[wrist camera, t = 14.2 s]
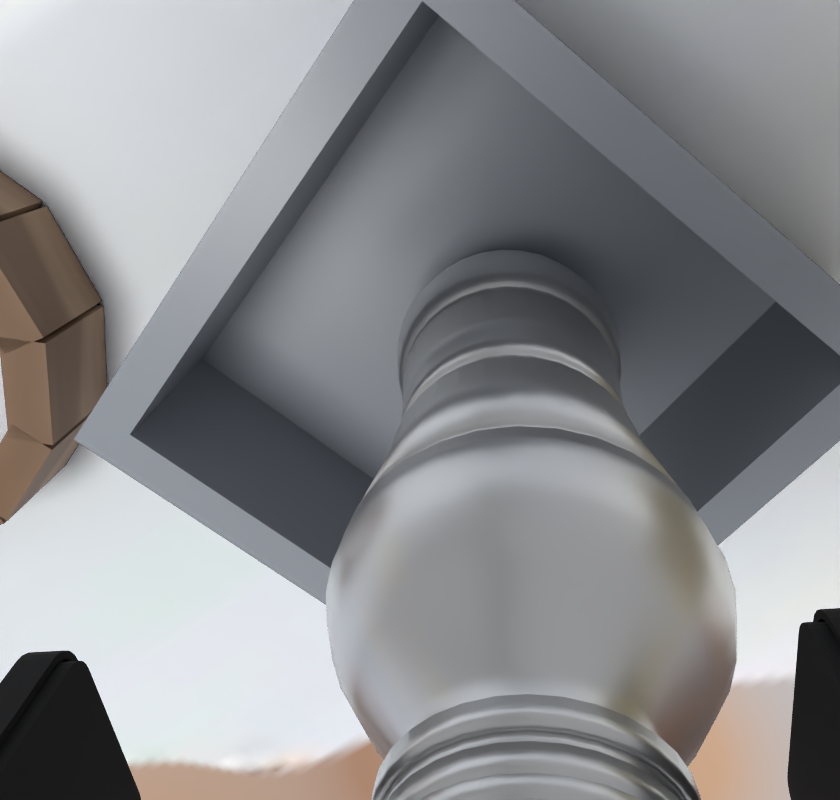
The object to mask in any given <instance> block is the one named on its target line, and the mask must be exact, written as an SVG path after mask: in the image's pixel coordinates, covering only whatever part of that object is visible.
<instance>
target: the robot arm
mask: <svg viewBox="0 0 840 800" xmlns="http://www.w3.org/2000/svg"><path fill="white" fill-rule="evenodd" d="M788 787H789V793H790V797H791V800H840V608H837V609H820V610H817V611H816V613H815V615H814V620H813V622H806V623H802V624H801V625H800V629H799V638H798V650H797V663H796V675H795V688H794V701H793V714H792V726H791V738H790V751H789V764H788ZM0 800H141V798H140V794H139V791H138V789H137V786H136V783H135V781H134V779H133V776H132V774H131V771H130V769H129V766H128V764H127V761H126V759H125V757H124V754H123V752H122V749H121V747H120V744H119V742H118V739H117V737H116V735H115V732H114V730H113V727H112V725H111V722H110V720H109V717H108V715H107V712H106V710H105V708H104V705H103V703H102V700H101V698H100V695H99V693H98V690H97V688H96V686H95V683H94V681H93V678H92V676H91V673H90V671H89V668H88V667H87V665H86V664H85V663H84V662H83V661H78V660H77V658H76V656H75V655H74V654H73V653H72V652H70V651H51V652H32V653H27V654H25V655H22V656H21V657H20V658H19V659H18V660H17V662H16V663H15V664H14V666H13V667H12V668H11V670H10V671H9V672H8V674H7V675H6V676H5V678H4V679H3V680H2V682H1V683H0Z"/></svg>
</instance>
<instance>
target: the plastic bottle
mask: <svg viewBox="0 0 840 800" xmlns="http://www.w3.org/2000/svg"><path fill="white" fill-rule="evenodd" d="M397 365H398V379H399V383H400V388H401V392H402V397H403V408H402V418H401V421H400V425H399V428H398V430H397V432H396V435H395V438H394V441H393V444H392V447H391V449H390V452H389V454H388V456H387V458H386V459H385V461H384V463H383V464H382V466H381V468H380V470H379V471H378V473H377V475H376V476H375V478H374V480H373V481H372V483H371V485H370V487H369V488H368V490H367V492H366V493H365V495H364V497H363V499H362V501H361V502H360V503H359V505H358V506H357V508H356V510H355V512H354V514H353V516H352V518H351V520H350V522H349V525H348V527H347V529H346V531H345V533H344V535H343V538H342V540H341V543H340V545H339V548H338V550H337V552H336V555H335V557H334V559H333V561H332V565H331V570H330V574H329V579H328V584H327V589H326V611H327V626H328V633H329V640H330V646H331V653H332V660H333V664H334V667H335V670H336V674H337V677H338V680H339V684H340V687H341V690H342V691H343V693H344V695H345V697H346V698H347V700H348V702H349V704H350V706H351V707H352V709H353V711H354V713H355V714H356V716H357V718H358V720H359V721H360V723H361V725H362V727H363V729H364V730H365V732H366V734H367V736H368V737H369V739H370V741H371V743H372V744H373V746H374V748H375V750H376V751H377V753H378V754H379V755H380V757H381V758H382V759H383V760H384V761H383V763H382V764H381V766H380V767H379V771H378V775H377V778H376V782H375V785H374V789H373V795H372V800H701V798H700V794H699V792H698V789H697V786H696V784H695V781H694V779H693V776H692V773H691V772H690V770H689V769H688V766H689V764H690V763H691V762H692V760H693V759H694V758H695V757H696V755H697V753H698V751H699V749H700V747H701V745H702V743H703V742H704V740H705V738H706V736H707V734H708V733H709V731H710V729H711V726H712V725H713V723H714V721H715V720H716V717H717V715H718V714H719V712H720V710H721V707H722V706H723V703H724V702H725V700H726V698H727V695H728V694H729V692H730V688H731V683H732V679H733V674H734V670H735V665H736V648H737V617H736V595H735V587H734V584H733V581H732V578H731V575H730V571H729V568H728V565H727V562H726V559H725V557H724V555H723V553H722V552H721V550H720V548H719V547H718V545H717V544H716V542H715V540H714V539H713V537H712V535H711V534H710V532H709V530H708V529H707V527H706V525H705V524H704V522H703V520H702V519H701V517H700V516H699V514H698V512H697V511H696V509H695V508H694V506H693V504H692V503H691V501H690V499H689V498H688V497H687V496H686V495H685V494H684V493H683V492H682V490H681V489H680V488H679V486H678V485H677V484H676V483H675V481H674V480H673V479H672V478H671V476H670V475H669V474H668V473H667V471H666V470H665V469H664V468H663V466H662V465H661V464H660V463H659V461H658V460H657V459H656V458H655V456H654V455H653V454H652V453H651V451H650V450H649V449H648V448H647V446H646V445H645V444H644V443H643V441H642V440H641V438H640V436H639V434H638V432H637V430H636V428H635V427H634V425H633V423H632V421H631V420H630V418H629V416H628V413H627V412H626V410H625V408H624V405H623V400H622V395H621V389H620V379H621V371H622V369H621V356H620V346H619V336H618V331H617V328H616V325H615V322H614V319H613V316H612V314H611V312H610V311H609V309H608V307H607V306H606V304H605V302H604V301H603V299H602V297H601V296H600V295H599V294H598V293H597V292H596V291H595V289H594V288H593V287H592V286H591V285H590V284H589V283H588V282H587V281H586V280H585V279H583V278H582V277H580V276H579V275H577V274H576V273H575V272H573V271H572V270H570V269H569V268H567V267H566V266H564V265H562V264H561V263H559V262H557V261H554V260H552V259H550V258H548V257H545V256H543V255H540V254H536V253H531V252H527V251H523V250H495V251H488V252H481V253H479V254H476V255H473V256H470V257H467V258H464V259H462V260H460V261H458V262H457V263H455V264H453V265H451V266H450V267H448V268H446V269H445V270H444V271H442V272H441V273H440V274H439V275H438V276H437V277H435V278H434V279H433V280H432V281H431V282H430V283H429V284H427V285H426V286H425V287H424V288H423V289H422V290H421V292H420V293H419V294H418V296H417V297H416V298H415V300H414V301H413V302H412V304H411V305H410V307H409V309H408V311H407V313H406V315H405V318H404V320H403V322H402V324H401V329H400V333H399V338H398V343H397Z"/></svg>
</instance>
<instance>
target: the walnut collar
mask: <svg viewBox="0 0 840 800" xmlns="http://www.w3.org/2000/svg"><path fill="white" fill-rule="evenodd" d="M41 203H42V201H41V200H40V199H38V198H37V197H36V196H34V195H33V194H31V193H30V192H29V191H27V190H26V189H24V188H23V187H22V186H20V185H19V184H17V183H16V182H15V181H13V180H12V179H10V178H9V177H8V176H6V175H5V174H3V173H2V172H1V171H0V357H1V367H2V377H3V387H4V396H5V406H6V416H7V426H8V431H7V433H6V435H5V436H4V438H3V440H2V441H1V443H0V525H1V524H4V523H5V522H6V521H8V520H9V519H10V518H11V517H12V516H13V515H14V514H15V513H16V512H17V511H18V510H19V509H20V508H21V507H22V506H23V505H25V504H26V503H27V502H28V501H29V500H30V499H31V498H32V497H33V496H34V495H35V494H36V493H37V492H38V491H39V490H40V489H41V488H42V487H43V486H44V485H45V484H46V483H48V482H49V481H50V480H51V479H52V478H53V477H54V476H55V475H56V474H57V473H58V472H59V471H60V470H61V469H62V468H63V467H64V466H65V465H66V463H67V462H68V460H69V459H70V457H71V456H72V454H73V452H74V451H75V449H76V448H77V446H78V445H79V443H78V442H77V441H75V440H74V438H75V437H76V435H77V434H78V432H79V431H80V429H81V427H82V426H83V424H84V423H85V421H86V420H87V418H88V416H89V415H90V413H91V412H92V410H93V409H94V407H95V405H96V404H97V402H98V401H99V399H100V398H101V396H102V395H103V393H104V391H105V390H106V388H107V376H106V353H105V329H104V306H99V305H96V304H98V303H99V302H101V301H102V300H101V298H100V297H99V295H98V293H97V292H96V290H95V288H94V286H93V285H92V283H91V281H90V280H89V278H88V276H87V274H86V273H85V271H84V269H83V268H82V266H81V264H80V262H79V261H78V259H77V257H76V255H75V254H74V252H73V250H72V249H71V247H70V245H69V243H68V242H67V240H66V238H65V237H64V235H63V233H62V231H61V230H60V228H59V226H58V225H57V223H56V221H55V219H54V218H53V216H52V214H51V213H50V211H49V209H48V207H47V206H46V207H43V208H40V209H39V207H40V205H41Z"/></svg>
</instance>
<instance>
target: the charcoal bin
mask: <svg viewBox="0 0 840 800" xmlns="http://www.w3.org/2000/svg"><path fill="white" fill-rule="evenodd" d="M495 250H523V251H527V252H531V253H536V254H540V255H543V256H545V257H548V258H550V259H552V260H554V261H557V262H559V263H561V264H562V265H564V266H566V267H567V268H569V269H570V270H572V271H573V272H575V273H576V274H577V275H579V276H580V277H582V278H583V279H585V280H586V281H587V282H588V283H589V284H590V285H591V286H592V287H593V288H594V289H595V291H596V292H597V293H598V294H599V295H600V296H601V297H602V299H603V301H604V302H605V304H606V306H607V307H608V309H609V311H610V312H611V314H612V316H613V319H614V322H615V325H616V328H617V331H618V336H619V346H620V356H621V369H622V371H621V379H620V389H621V395H622V400H623V405H624V408H625V410H626V412H627V413H628V416H629V418H630V420H631V421H632V423H633V425H634V427H635V428H636V430H637V432H638V434H639V436H640V438H641V440H642V441H643V443H644V444H645V445H646V446H647V448H648V449H649V450H650V451H651V453H652V454H653V455H654V456H655V458H656V459H657V460H658V461H659V463H660V464H661V465H662V466H663V468H664V469H665V470H666V471H667V473H668V474H669V475H670V476H671V478H672V479H673V480H674V481H675V483H676V484H677V485H678V486H679V488H680V489H681V490H682V492H683V493H684V494H685V495H686V496H687V497H688V498H689V499H690V501H691V503H692V504H693V506H694V508H695V509H696V511H697V512H698V514H699V516H700V517H701V519H702V520H703V522H704V524H705V525H706V527H707V529H708V530H709V532H710V534H711V535H712V537H713V539H714V540H715V542H716V544H717V545H719V544H720V543H721V542H723V541H724V540H725V539H726V538H727V537H728V536H729V535H731V534H732V533H733V532H734V531H735V530H736V529H738V528H739V527H740V526H741V525H742V524H743V523H745V522H746V521H747V520H748V519H749V518H750V517H752V516H753V515H754V514H755V513H756V512H757V511H758V510H760V509H761V508H762V507H763V506H764V505H765V504H767V503H768V502H769V501H770V500H771V499H772V498H774V497H775V496H776V495H777V494H778V493H779V492H781V491H782V490H783V489H784V488H785V487H786V486H788V485H789V484H790V483H791V482H792V481H793V480H794V479H796V478H797V477H798V476H799V475H800V474H801V473H803V472H804V471H805V470H806V469H807V468H808V467H810V466H811V465H812V464H813V463H814V462H815V461H817V460H818V459H819V458H820V457H821V456H822V455H823V454H825V453H826V452H827V451H828V450H829V449H830V448H832V447H833V446H834V445H835V444H836V443H837V442H839V441H840V284H838V283H837V282H836V281H835V280H834V279H833V278H832V277H830V276H829V275H828V274H827V273H826V272H825V271H824V270H822V269H821V268H820V267H819V266H818V265H817V264H815V263H814V262H813V261H812V260H811V259H810V258H809V257H807V256H806V255H805V254H804V253H803V252H802V251H801V250H799V249H798V248H797V247H796V246H795V245H794V244H793V243H791V242H790V241H789V240H788V239H787V238H786V237H785V236H783V235H782V234H781V233H780V232H779V231H778V230H777V229H775V228H774V227H773V226H772V225H771V224H770V223H769V222H767V221H766V220H765V219H764V218H763V217H762V216H761V215H759V214H758V213H757V212H756V211H755V210H754V209H752V208H751V207H750V206H749V205H748V204H747V203H746V202H744V201H743V200H742V199H741V198H740V197H739V196H738V195H736V194H735V193H734V192H733V191H732V190H731V189H730V188H728V187H727V186H726V185H725V184H724V183H723V182H722V181H720V180H719V179H718V178H717V177H716V176H715V175H714V174H712V173H711V172H710V171H709V170H708V169H707V168H706V167H704V166H703V165H702V164H701V163H700V162H699V161H698V160H696V159H695V158H694V157H693V156H692V155H691V154H689V153H688V152H687V151H686V150H685V149H684V148H683V147H681V146H680V145H679V144H678V143H677V142H676V141H675V140H673V139H672V138H671V137H670V136H669V135H668V134H667V133H665V132H664V131H663V130H662V129H661V128H660V127H659V126H657V125H656V124H655V123H654V122H653V121H652V120H651V119H649V118H648V117H647V116H646V115H645V114H644V113H643V112H641V111H640V110H639V109H638V108H637V107H636V106H635V105H633V104H632V103H631V102H630V101H629V100H628V99H626V98H625V97H624V96H623V95H622V94H621V93H620V92H618V91H617V90H616V89H615V88H614V87H613V86H612V85H610V84H609V83H608V82H607V81H606V80H605V79H604V78H602V77H601V76H600V75H599V74H598V73H597V72H596V71H594V70H593V69H592V68H591V67H590V66H589V65H588V64H586V63H585V62H584V61H583V60H582V59H581V58H580V57H578V56H577V55H576V54H575V53H574V52H573V51H572V50H570V49H569V48H568V47H567V46H566V45H565V44H563V43H562V42H561V41H560V40H559V39H558V38H557V37H555V36H554V35H553V34H552V33H551V32H550V31H549V30H547V29H546V28H545V27H544V26H543V25H542V24H541V23H539V22H538V21H537V20H536V19H535V18H534V17H533V16H531V15H530V14H529V13H528V12H527V11H526V10H525V9H523V8H522V7H521V6H520V5H519V4H518V3H517V2H515V1H514V0H354V1H353V3H352V4H351V6H350V8H349V9H348V11H347V12H346V14H345V15H344V17H343V19H342V20H341V22H340V23H339V25H338V26H337V28H336V30H335V31H334V33H333V34H332V36H331V37H330V39H329V41H328V42H327V44H326V45H325V47H324V48H323V50H322V51H321V53H320V55H319V56H318V58H317V59H316V61H315V62H314V64H313V66H312V67H311V69H310V70H309V72H308V73H307V75H306V77H305V78H304V80H303V81H302V83H301V84H300V86H299V88H298V89H297V91H296V92H295V94H294V95H293V97H292V98H291V100H290V102H289V103H288V105H287V106H286V108H285V109H284V111H283V113H282V114H281V116H280V117H279V119H278V120H277V122H276V124H275V125H274V127H273V128H272V130H271V131H270V133H269V134H268V136H267V138H266V139H265V141H264V142H263V144H262V145H261V147H260V149H259V150H258V152H257V153H256V155H255V156H254V158H253V160H252V161H251V163H250V164H249V166H248V167H247V169H246V171H245V172H244V174H243V175H242V177H241V178H240V180H239V181H238V183H237V185H236V186H235V188H234V189H233V191H232V192H231V194H230V196H229V197H228V199H227V200H226V202H225V203H224V205H223V207H222V208H221V210H220V211H219V213H218V214H217V216H216V218H215V219H214V221H213V222H212V224H211V225H210V227H209V228H208V230H207V232H206V233H205V235H204V236H203V238H202V239H201V241H200V243H199V244H198V246H197V247H196V249H195V250H194V252H193V254H192V255H191V257H190V258H189V260H188V261H187V263H186V265H185V266H184V268H183V269H182V271H181V272H180V274H179V275H178V277H177V279H176V280H175V282H174V283H173V285H172V286H171V288H170V290H169V291H168V293H167V294H166V296H165V297H164V299H163V301H162V302H161V304H160V305H159V307H158V308H157V310H156V312H155V313H154V315H153V316H152V318H151V319H150V321H149V322H148V324H147V326H146V327H145V329H144V330H143V332H142V333H141V335H140V337H139V338H138V340H137V341H136V343H135V344H134V346H133V348H132V349H131V351H130V352H129V354H128V355H127V357H126V358H125V360H124V362H123V363H122V365H121V366H120V368H119V369H118V371H117V373H116V374H115V376H114V377H113V379H112V380H111V382H110V384H109V385H108V387H107V388H106V390H105V391H104V393H103V395H102V396H101V398H100V399H99V401H98V402H97V404H96V405H95V407H94V409H93V410H92V412H91V413H90V415H89V416H88V418H87V420H86V421H85V423H84V424H83V426H82V427H81V429H80V431H79V432H78V434H77V435H76V437H75V438H74V440H75V441H77V442H78V443H80V444H81V445H83V446H84V447H86V448H87V449H89V450H90V451H92V452H94V453H95V454H97V455H98V456H100V457H101V458H103V459H104V460H106V461H107V462H109V463H110V464H112V465H113V466H115V467H116V468H118V469H119V470H121V471H123V472H124V473H126V474H127V475H129V476H130V477H132V478H133V479H135V480H136V481H138V482H139V483H141V484H142V485H144V486H145V487H147V488H148V489H150V490H152V491H153V492H155V493H156V494H158V495H159V496H161V497H162V498H164V499H165V500H167V501H168V502H170V503H171V504H173V505H174V506H176V507H177V508H179V509H181V510H182V511H184V512H185V513H187V514H188V515H190V516H191V517H193V518H194V519H196V520H197V521H199V522H200V523H202V524H203V525H205V526H206V527H208V528H210V529H211V530H213V531H214V532H216V533H217V534H219V535H220V536H222V537H223V538H225V539H226V540H228V541H229V542H231V543H232V544H234V545H235V546H237V547H239V548H240V549H242V550H243V551H245V552H246V553H248V554H249V555H251V556H252V557H254V558H255V559H257V560H258V561H260V562H261V563H263V564H264V565H266V566H268V567H269V568H271V569H272V570H274V571H275V572H277V573H278V574H280V575H281V576H283V577H284V578H286V579H287V580H289V581H290V582H292V583H293V584H295V585H297V586H298V587H300V588H301V589H303V590H304V591H306V592H307V593H309V594H310V595H312V596H313V597H315V598H316V599H318V600H319V601H321V602H322V603H324V604H325V605H326V589H327V584H328V579H329V574H330V570H331V565H332V561H333V559H334V557H335V555H336V552H337V550H338V548H339V545H340V543H341V540H342V538H343V535H344V533H345V531H346V529H347V527H348V525H349V522H350V520H351V518H352V516H353V514H354V512H355V510H356V508H357V506H358V505H359V503H360V502H361V501H362V499H363V497H364V495H365V493H366V492H367V490H368V488H369V487H370V485H371V483H372V481H373V480H374V478H375V476H376V475H377V473H378V471H379V470H380V468H381V466H382V464H383V463H384V461H385V459H386V458H387V456H388V454H389V452H390V449H391V447H392V444H393V441H394V438H395V435H396V432H397V430H398V428H399V425H400V421H401V418H402V408H403V397H402V392H401V388H400V383H399V379H398V365H397V343H398V338H399V333H400V329H401V324H402V322H403V320H404V318H405V315H406V313H407V311H408V309H409V307H410V305H411V304H412V302H413V301H414V300H415V298H416V297H417V296H418V294H419V293H420V292H421V290H422V289H423V288H424V287H425V286H426V285H427V284H429V283H430V282H431V281H432V280H433V279H434V278H435V277H437V276H438V275H439V274H440V273H441V272H442V271H444V270H445V269H446V268H448V267H450V266H451V265H453V264H455V263H457V262H458V261H460V260H462V259H464V258H467V257H470V256H473V255H476V254H479V253H481V252H488V251H495Z"/></svg>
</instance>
